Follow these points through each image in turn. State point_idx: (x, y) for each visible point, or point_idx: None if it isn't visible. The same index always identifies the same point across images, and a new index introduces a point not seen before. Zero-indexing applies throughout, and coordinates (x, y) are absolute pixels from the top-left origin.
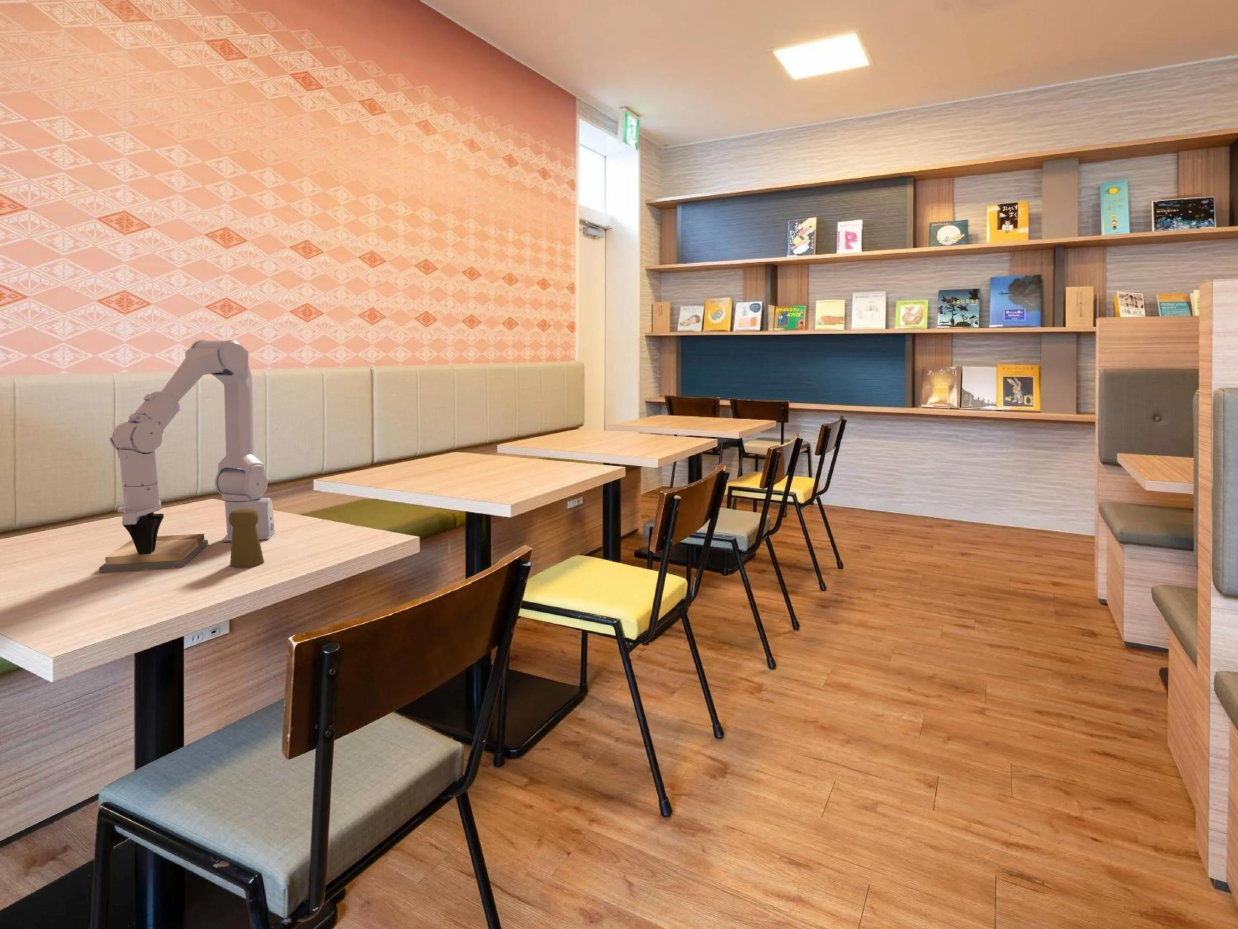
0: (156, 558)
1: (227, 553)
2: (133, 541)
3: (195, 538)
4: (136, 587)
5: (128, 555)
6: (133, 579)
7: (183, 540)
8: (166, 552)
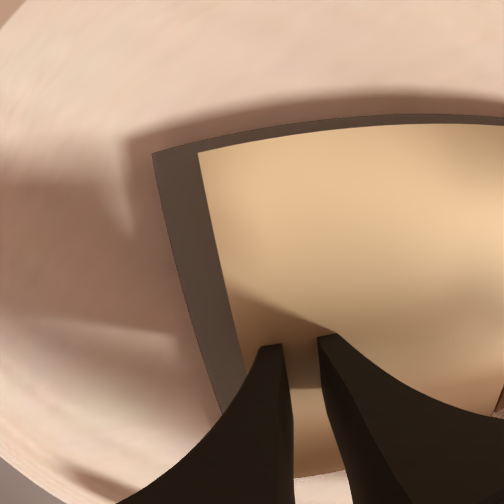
0: None
1: None
2: (232, 400)
3: (501, 403)
4: (37, 390)
5: (239, 296)
6: (86, 360)
7: (493, 386)
8: None
